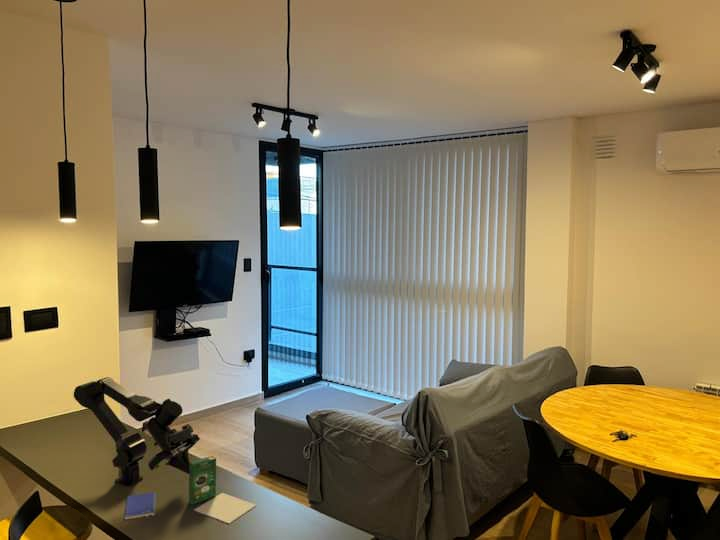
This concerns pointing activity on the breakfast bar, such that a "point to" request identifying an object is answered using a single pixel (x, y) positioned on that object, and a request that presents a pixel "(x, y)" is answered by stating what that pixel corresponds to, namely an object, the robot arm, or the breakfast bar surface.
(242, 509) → the mat
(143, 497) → the hard drive
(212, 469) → the coffee box
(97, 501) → the breakfast bar surface
